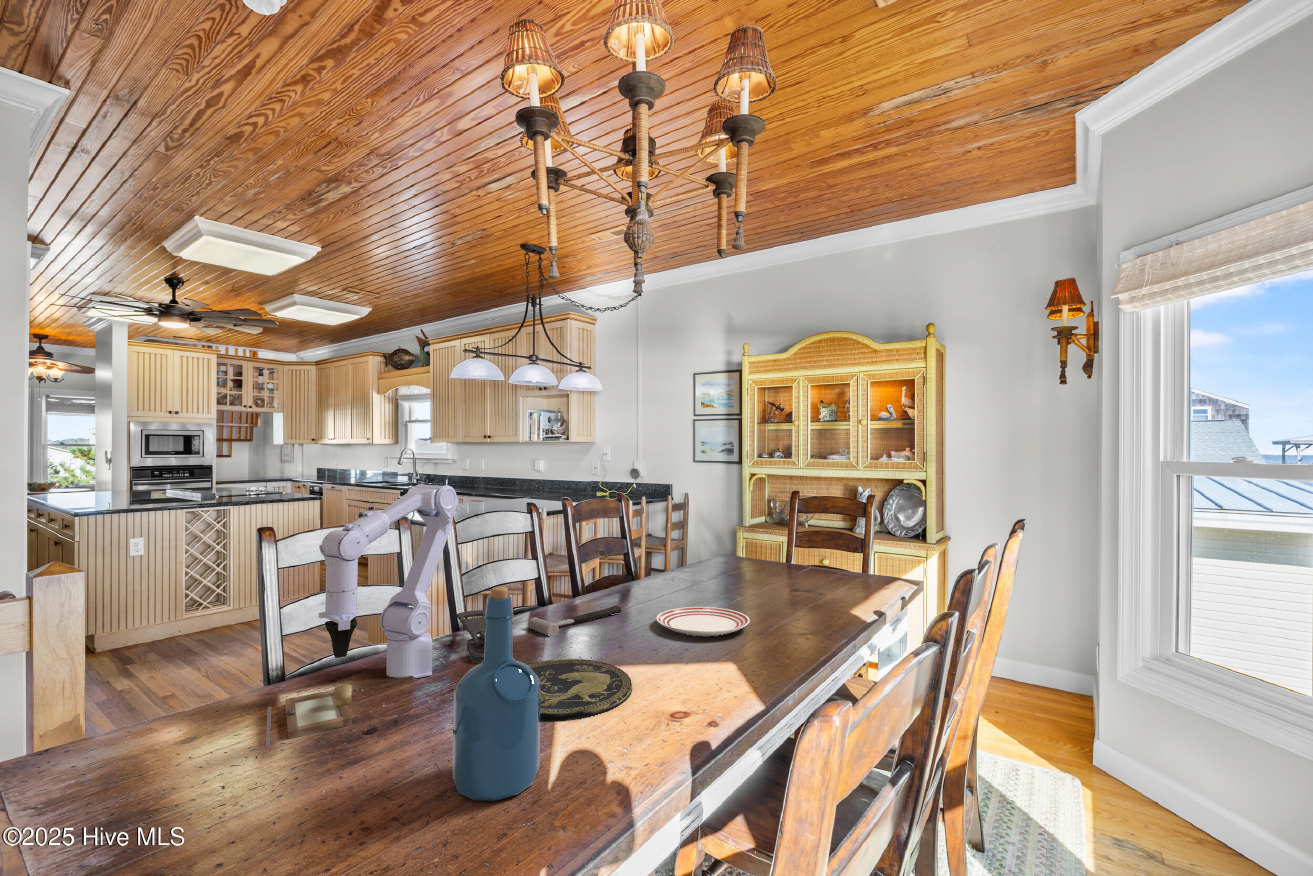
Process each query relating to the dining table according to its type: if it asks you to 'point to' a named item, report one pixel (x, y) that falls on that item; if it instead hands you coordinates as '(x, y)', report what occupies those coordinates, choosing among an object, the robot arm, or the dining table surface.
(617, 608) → the rubber mallet
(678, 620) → the dinner plate
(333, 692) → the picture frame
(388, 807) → the dining table surface
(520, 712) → the wine bottle
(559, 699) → the decorative plate
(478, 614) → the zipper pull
